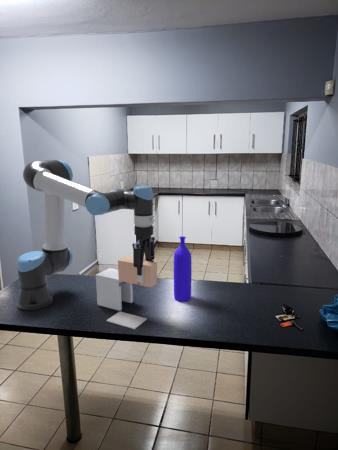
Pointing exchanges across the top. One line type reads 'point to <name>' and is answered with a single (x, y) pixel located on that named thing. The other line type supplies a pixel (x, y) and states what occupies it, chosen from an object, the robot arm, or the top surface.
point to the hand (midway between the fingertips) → (144, 279)
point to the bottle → (182, 272)
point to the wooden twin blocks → (130, 272)
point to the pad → (126, 320)
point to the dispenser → (112, 290)
